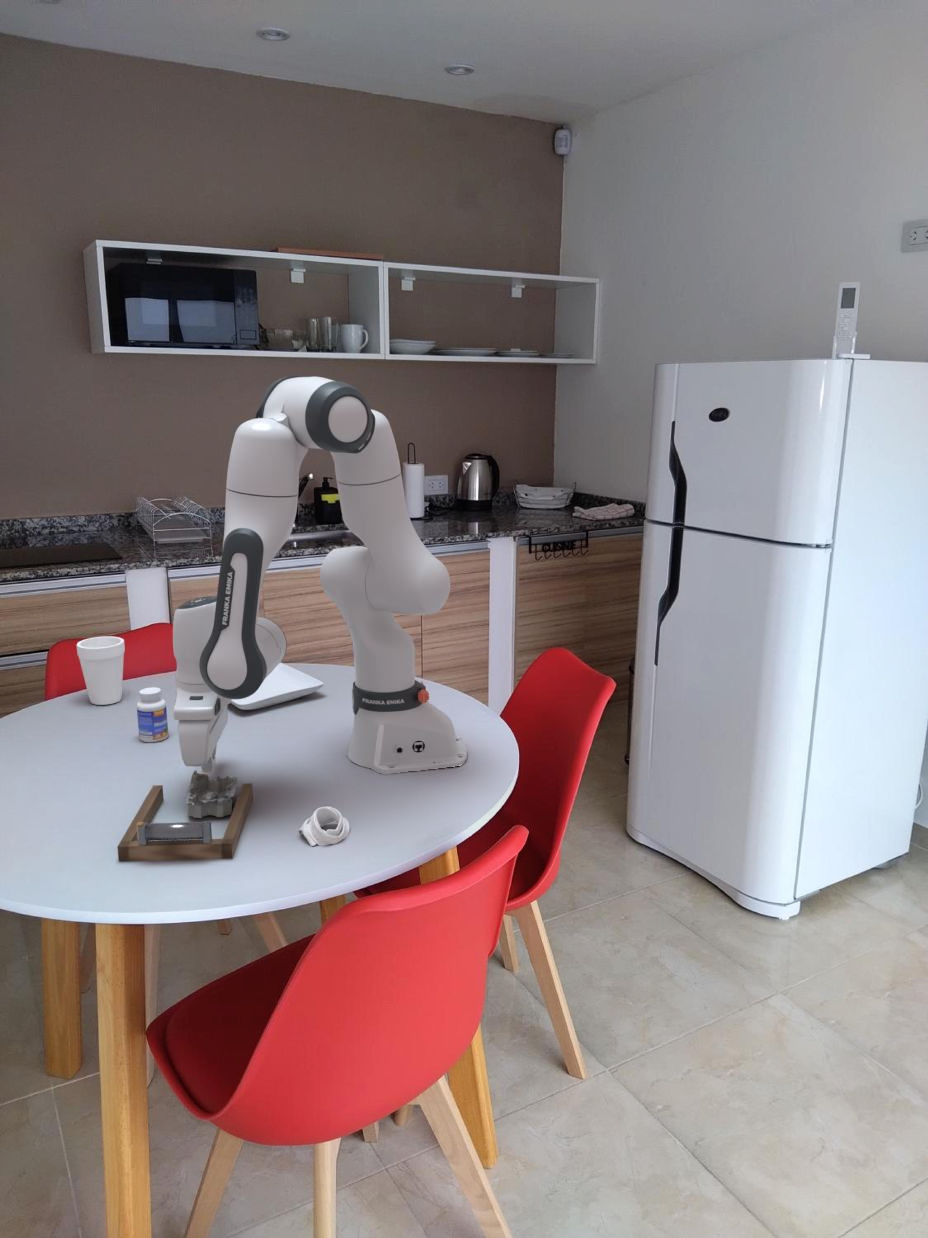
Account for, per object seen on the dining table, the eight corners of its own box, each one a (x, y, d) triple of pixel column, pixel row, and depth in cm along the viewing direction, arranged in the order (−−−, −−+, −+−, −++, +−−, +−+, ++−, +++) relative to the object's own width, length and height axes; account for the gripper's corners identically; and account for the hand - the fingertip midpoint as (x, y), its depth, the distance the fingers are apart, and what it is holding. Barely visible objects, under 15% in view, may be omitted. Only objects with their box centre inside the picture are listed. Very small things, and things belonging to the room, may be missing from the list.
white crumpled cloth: (333, 822, 141) (332, 794, 140) (361, 837, 136) (360, 808, 135) (292, 840, 135) (291, 811, 134) (319, 856, 131) (318, 826, 129)
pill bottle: (159, 744, 170) (155, 696, 167) (133, 741, 171) (129, 694, 168) (173, 733, 175) (170, 687, 172) (148, 731, 176) (145, 685, 173)
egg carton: (193, 791, 149) (193, 768, 148) (239, 792, 150) (239, 769, 149) (182, 819, 138) (182, 795, 138) (231, 819, 139) (231, 795, 139)
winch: (213, 837, 129) (211, 817, 128) (209, 845, 127) (208, 825, 126) (141, 839, 128) (139, 819, 128) (136, 847, 126) (134, 827, 125)
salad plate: (241, 719, 184) (240, 703, 183) (194, 692, 199) (193, 678, 198) (327, 696, 198) (326, 682, 197) (277, 673, 213) (276, 660, 212)
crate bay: (252, 799, 148) (252, 783, 147) (232, 862, 128) (231, 843, 128) (154, 802, 146) (153, 785, 146) (119, 865, 127) (117, 847, 126)
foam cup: (72, 703, 190) (66, 645, 187) (105, 690, 199) (99, 634, 195) (106, 709, 187) (101, 650, 184) (138, 696, 195) (133, 639, 192)
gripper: (198, 673, 158) (202, 745, 161) (170, 714, 138) (176, 795, 142) (234, 672, 158) (238, 744, 162) (211, 713, 139) (216, 794, 142)
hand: (209, 769), depth 152 cm, fingers closed
